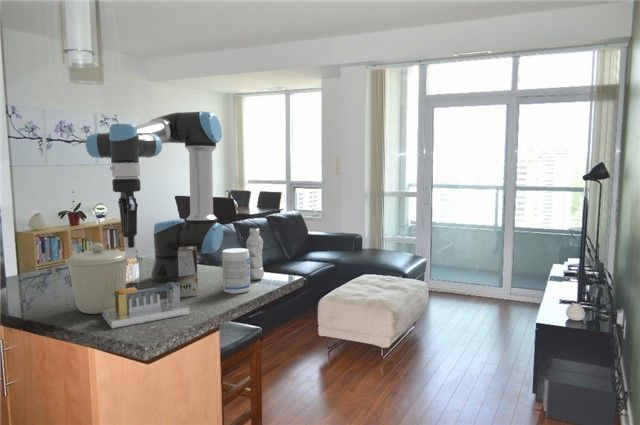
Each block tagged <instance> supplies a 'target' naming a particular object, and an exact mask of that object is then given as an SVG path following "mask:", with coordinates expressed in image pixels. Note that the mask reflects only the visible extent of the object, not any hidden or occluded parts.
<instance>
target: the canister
mask: <svg viewBox="0 0 640 425" xmlns="http://www.w3.org/2000/svg"><path fill="white" fill-rule="evenodd" d="M90 248H91V250H89V251H84V252H83V251H82V252H80V253H76V254H72V255H71V256H70V257H69V258H67V259H65V261H64V262H65V264H66V265H67V266H68V272H69V277H70V281H71V282H70V283H71V287H72V291H73V297H74V301H75V305H76V308H77V309H78V310H79V312H81V313H83V314H87V315H89V314H90V315H98V314H99V315H100V314H102V309H106V308H112V307H115V297H114V291H117V289H125V288H127V284H126V283H127V273H128V272H127V270H128V259H126V258H125V251H122V250H118V249H117V250H116V249H115V250H114V249H104V248H105V246H104V244H102V243H100V242H96V243H93V244H92V245H91V247H90Z"/></svg>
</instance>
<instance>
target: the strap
mask: <svg viewBox="0 0 640 425" xmlns="http://www.w3.org/2000/svg"><path fill="white" fill-rule="evenodd" d="M171 286H176V285H175V283H174V284H169V286H166V285H163V286H157V287H150V288H142V289H141V288H140V289H138V288H137V287H134V286H133V287H126V288H125V289H117V293H114V296H115V297H116V298H117V297H118V294H126V296H129V297H131V295H136V296H137V295H138V294H143V295H144V294H145V293H150V294H151V292H157V293H158V292H163V291H164V292H165V291H167V290H172V288H171Z"/></svg>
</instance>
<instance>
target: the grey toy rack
mask: <svg viewBox="0 0 640 425" xmlns="http://www.w3.org/2000/svg"><path fill="white" fill-rule="evenodd" d="M165 284H166V285H165V286H169V284H174V285H175V282H165ZM171 288H172V290H166V298H161V297H160V294H159V293H158V292H151V293H145V294H138V295H131V296H126V294H118V297H117V298H116V297H115V296H114V297H115V307H112V308H106V309H102V313H101V315H102V318H103V319H104V320H105V321H106V322H107V324H108V325H109V327H110V328H111V329H116V328H122V327H127V326H132V325H133V326H134V325H137V324H143V323H148V322H154V321H159V320H164V319H169V318H174V317H180V316H186V315H190V307H189V306H188V305H186V304H185V303H184V302H182V301H181V297H180V289H179V285H175V286H171ZM114 293H117V291H114ZM160 298H161V299H160Z"/></svg>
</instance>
